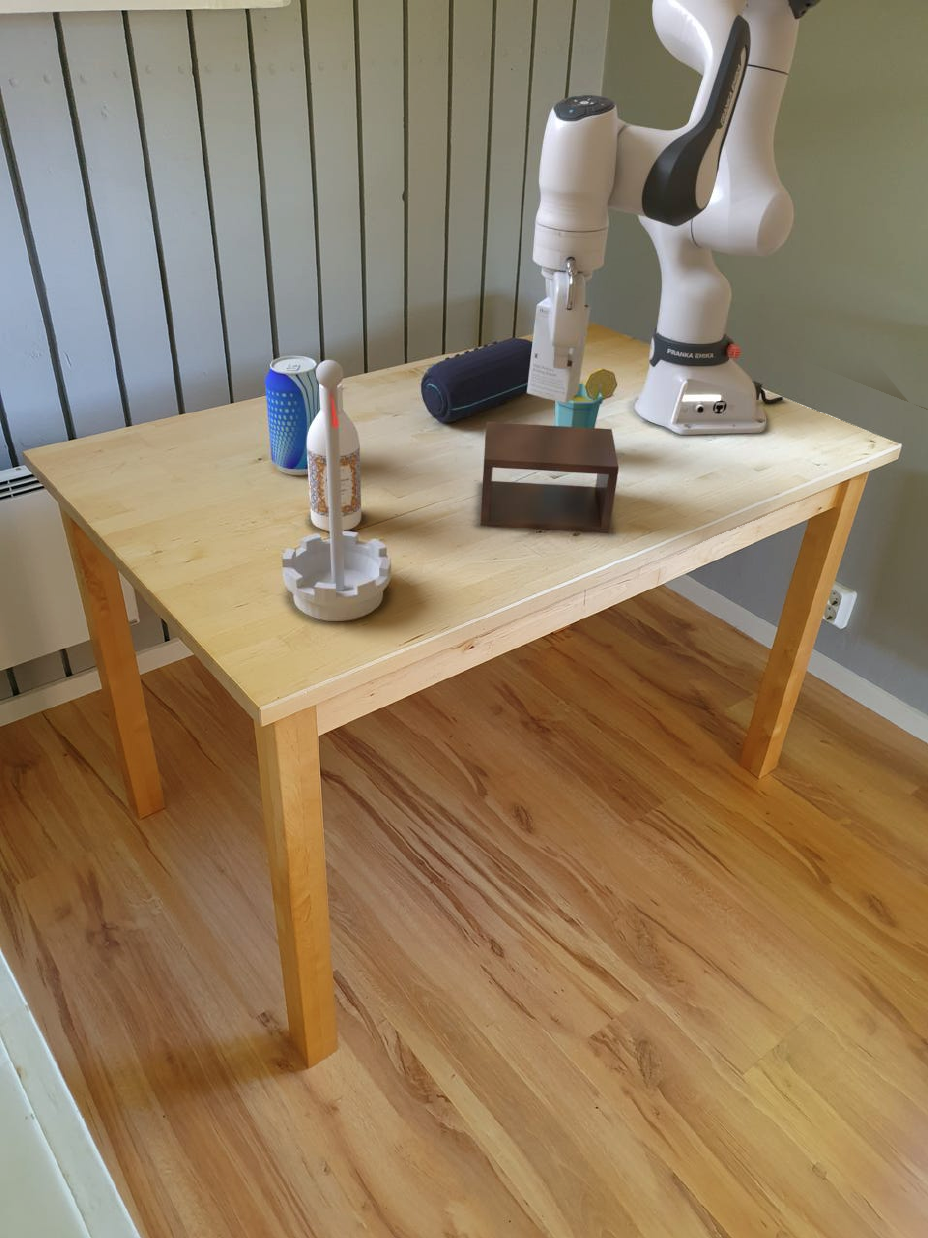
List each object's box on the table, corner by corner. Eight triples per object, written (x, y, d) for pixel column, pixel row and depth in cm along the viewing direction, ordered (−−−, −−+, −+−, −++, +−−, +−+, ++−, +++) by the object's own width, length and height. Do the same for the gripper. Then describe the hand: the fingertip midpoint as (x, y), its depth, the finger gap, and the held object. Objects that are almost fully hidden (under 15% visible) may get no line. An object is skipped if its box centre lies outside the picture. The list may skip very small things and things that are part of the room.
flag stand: (278, 572, 122) (259, 342, 105) (379, 561, 126) (376, 335, 108) (292, 632, 112) (273, 388, 95) (401, 618, 115) (403, 380, 98)
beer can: (260, 464, 146) (251, 362, 137) (303, 447, 151) (297, 348, 142) (296, 483, 142) (288, 379, 132) (339, 465, 147) (335, 364, 137)
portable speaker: (508, 379, 178) (512, 326, 172) (549, 396, 172) (555, 341, 166) (409, 416, 163) (409, 359, 157) (451, 435, 157) (453, 377, 151)
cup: (542, 475, 147) (551, 382, 138) (516, 454, 152) (523, 363, 144) (616, 458, 153) (629, 368, 144) (588, 439, 158) (599, 350, 149)
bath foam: (313, 535, 130) (305, 395, 118) (308, 510, 136) (300, 374, 124) (364, 531, 131) (361, 393, 120) (357, 506, 137) (354, 371, 125)
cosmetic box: (525, 394, 128) (533, 303, 121) (538, 383, 132) (547, 294, 124) (568, 404, 126) (578, 313, 119) (580, 393, 129) (591, 303, 122)
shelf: (602, 491, 144) (611, 428, 138) (609, 532, 134) (618, 467, 128) (482, 484, 144) (486, 421, 138) (480, 525, 134) (484, 459, 128)
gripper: (601, 273, 109) (587, 389, 117) (590, 227, 126) (578, 331, 134) (545, 270, 109) (535, 386, 117) (541, 225, 126) (533, 329, 134)
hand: (558, 356), depth 126 cm, fingers closed on cosmetic box, 5 cm apart
